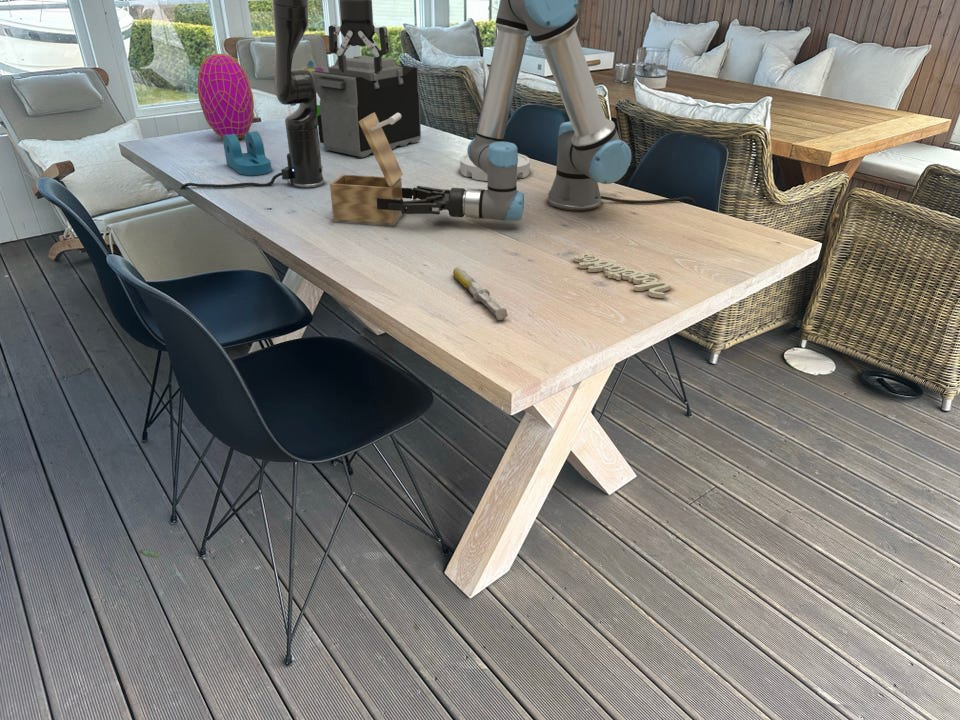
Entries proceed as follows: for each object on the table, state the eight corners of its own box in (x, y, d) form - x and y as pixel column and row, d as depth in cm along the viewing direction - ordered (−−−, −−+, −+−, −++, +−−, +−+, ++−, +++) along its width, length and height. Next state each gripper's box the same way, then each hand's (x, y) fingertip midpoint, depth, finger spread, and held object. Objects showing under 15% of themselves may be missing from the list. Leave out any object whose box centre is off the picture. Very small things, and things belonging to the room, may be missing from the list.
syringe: (449, 274, 155) (449, 263, 153) (465, 272, 156) (464, 260, 154) (490, 323, 135) (491, 310, 133) (508, 319, 136) (508, 307, 134)
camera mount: (227, 164, 233) (221, 132, 227) (257, 160, 238) (252, 129, 233) (244, 176, 220) (239, 143, 215) (276, 172, 225) (271, 139, 220)
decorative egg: (223, 147, 254) (207, 59, 238) (197, 138, 265) (180, 54, 250) (268, 138, 266) (256, 54, 251) (241, 130, 277) (228, 49, 262)
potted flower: (308, 125, 287) (301, 61, 274) (303, 122, 293) (296, 58, 280) (330, 123, 291) (324, 59, 278) (325, 120, 297) (319, 57, 284)
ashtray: (462, 161, 239) (462, 150, 237) (528, 163, 239) (529, 151, 237) (458, 180, 219) (458, 168, 217) (530, 182, 219) (531, 169, 217)
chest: (333, 222, 185) (329, 184, 179) (345, 210, 193) (342, 174, 188) (393, 226, 182) (391, 188, 177) (403, 214, 190) (401, 178, 185)
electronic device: (383, 133, 276) (378, 52, 261) (425, 141, 265) (422, 56, 250) (314, 150, 251) (304, 61, 235) (358, 160, 240) (350, 67, 224)
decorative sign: (686, 282, 150) (660, 295, 144) (686, 286, 150) (659, 300, 144) (592, 249, 166) (565, 259, 160) (592, 253, 167) (565, 263, 161)
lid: (358, 121, 170) (386, 109, 167) (370, 114, 178) (397, 102, 175) (388, 186, 177) (416, 175, 174) (399, 176, 185) (425, 165, 182)
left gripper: (320, -2, 158) (327, 74, 166) (380, -1, 156) (384, 76, 164) (332, -3, 164) (338, 69, 173) (389, -2, 162) (393, 71, 171)
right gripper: (456, 231, 173) (371, 224, 176) (472, 204, 192) (395, 199, 195) (456, 201, 169) (369, 196, 172) (472, 177, 188) (394, 172, 191)
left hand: (360, 72), depth 168 cm, fingers open, 8 cm apart
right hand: (383, 197), depth 184 cm, fingers closed on chest, 10 cm apart
